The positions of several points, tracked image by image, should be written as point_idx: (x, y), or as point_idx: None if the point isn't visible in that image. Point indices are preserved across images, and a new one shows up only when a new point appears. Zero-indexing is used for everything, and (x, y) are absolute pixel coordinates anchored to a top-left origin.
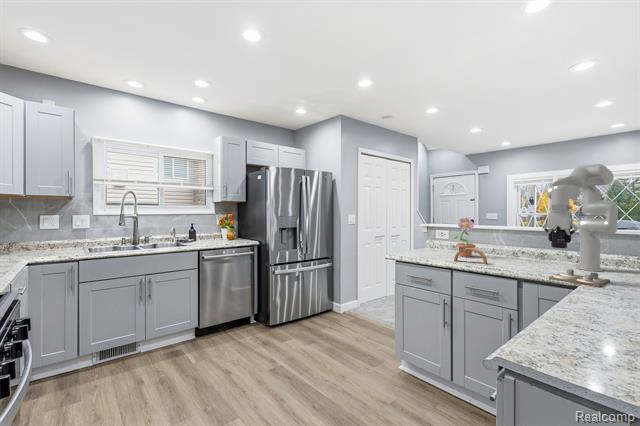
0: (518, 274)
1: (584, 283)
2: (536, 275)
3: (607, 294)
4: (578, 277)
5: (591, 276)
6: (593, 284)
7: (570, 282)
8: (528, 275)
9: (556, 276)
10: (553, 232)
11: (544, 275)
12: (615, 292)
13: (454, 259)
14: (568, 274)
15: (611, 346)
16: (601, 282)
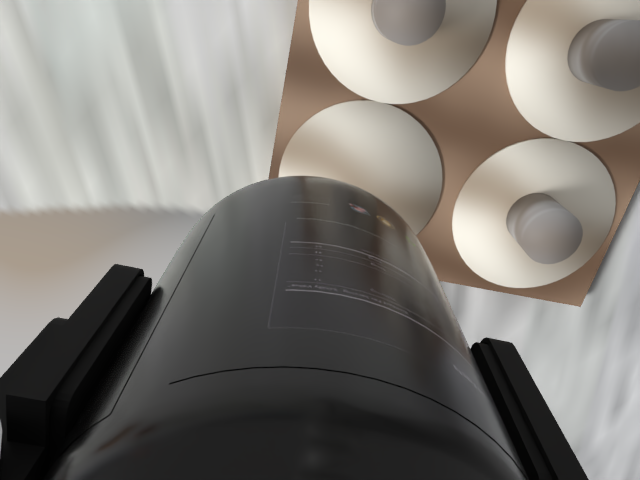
0: (20, 206)
1: (494, 286)
2: (141, 136)
3: (578, 453)
4: (470, 81)
5: (567, 256)
6: (548, 298)
7: None
8: (94, 190)
9: None
10: None
11: (192, 77)
12: (636, 378)
13: None
14: (390, 40)
15: None
16: (619, 194)
